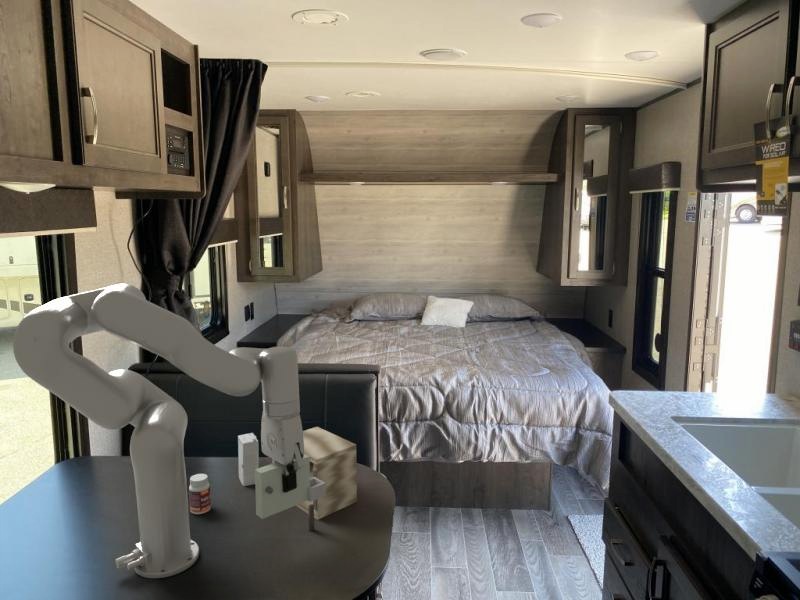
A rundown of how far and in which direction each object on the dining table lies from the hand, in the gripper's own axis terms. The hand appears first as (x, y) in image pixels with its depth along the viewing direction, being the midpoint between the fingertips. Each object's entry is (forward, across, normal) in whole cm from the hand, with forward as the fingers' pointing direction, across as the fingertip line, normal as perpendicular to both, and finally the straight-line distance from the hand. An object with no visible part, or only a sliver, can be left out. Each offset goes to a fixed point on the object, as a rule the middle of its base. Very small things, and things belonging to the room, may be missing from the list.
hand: (285, 486), depth 123 cm
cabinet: (+13, -9, +14) cm, 21 cm away
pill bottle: (+13, -26, -8) cm, 30 cm away
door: (+4, 0, +1) cm, 5 cm away
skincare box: (+13, -31, +8) cm, 35 cm away
